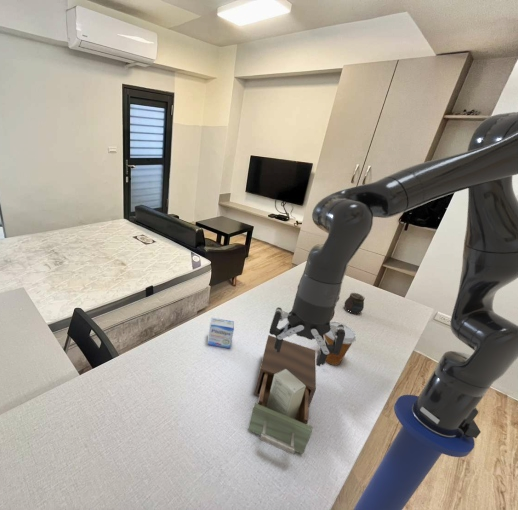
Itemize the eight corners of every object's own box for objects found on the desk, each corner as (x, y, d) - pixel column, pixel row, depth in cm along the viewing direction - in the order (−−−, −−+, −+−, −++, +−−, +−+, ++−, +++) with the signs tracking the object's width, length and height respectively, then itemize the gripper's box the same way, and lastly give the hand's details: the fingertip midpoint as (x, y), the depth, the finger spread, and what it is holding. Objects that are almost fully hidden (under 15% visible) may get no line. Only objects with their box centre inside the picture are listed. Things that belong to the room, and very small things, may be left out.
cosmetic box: (295, 422, 68) (307, 386, 64) (282, 430, 66) (295, 393, 62) (275, 402, 73) (286, 367, 69) (263, 409, 71) (273, 373, 67)
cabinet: (305, 415, 73) (315, 388, 69) (253, 394, 78) (260, 368, 74) (306, 374, 86) (315, 350, 82) (262, 358, 91) (268, 334, 87)
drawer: (302, 475, 59) (312, 451, 55) (243, 447, 63) (250, 423, 60) (304, 404, 75) (312, 383, 72) (258, 385, 79) (263, 365, 76)
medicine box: (207, 345, 95) (210, 324, 92) (208, 336, 99) (211, 316, 96) (230, 349, 94) (234, 328, 91) (230, 340, 98) (233, 320, 95)
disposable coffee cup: (336, 372, 88) (347, 343, 83) (309, 354, 95) (318, 325, 90) (350, 362, 93) (362, 333, 88) (324, 345, 100) (334, 317, 96)
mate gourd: (356, 307, 127) (364, 288, 123) (364, 317, 120) (372, 297, 116) (340, 305, 127) (347, 286, 123) (347, 314, 120) (354, 295, 116)
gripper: (278, 294, 56) (263, 356, 62) (359, 315, 50) (333, 380, 57) (282, 279, 62) (267, 336, 68) (353, 296, 57) (331, 357, 63)
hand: (297, 356), depth 62 cm, fingers open, 8 cm apart
